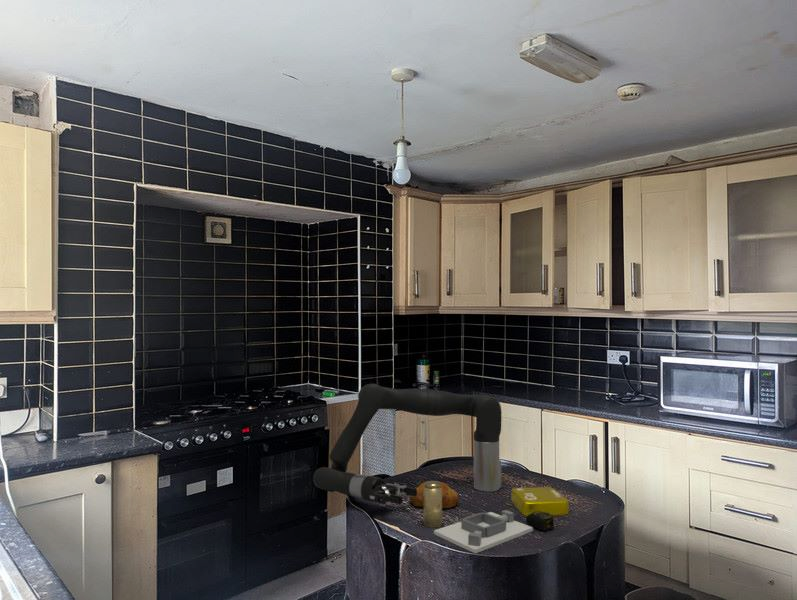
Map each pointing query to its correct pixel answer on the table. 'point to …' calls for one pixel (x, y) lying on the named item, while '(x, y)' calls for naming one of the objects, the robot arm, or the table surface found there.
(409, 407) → the robot arm
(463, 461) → the table surface
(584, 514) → the table surface
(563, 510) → the element tile
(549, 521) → the tape measure
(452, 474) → the table surface
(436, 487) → the golden brown cylinder
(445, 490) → the croissant
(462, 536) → the cradle
